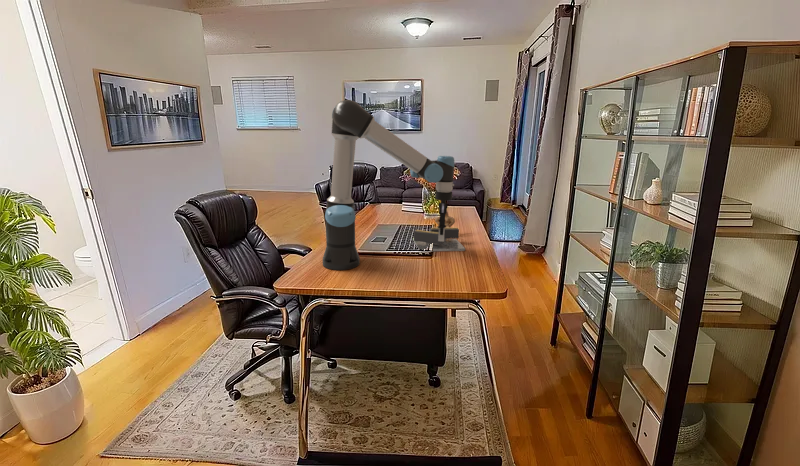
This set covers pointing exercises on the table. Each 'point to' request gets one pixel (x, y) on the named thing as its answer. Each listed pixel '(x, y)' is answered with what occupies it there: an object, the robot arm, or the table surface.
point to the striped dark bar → (427, 237)
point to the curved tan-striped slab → (448, 232)
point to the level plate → (442, 245)
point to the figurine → (446, 221)
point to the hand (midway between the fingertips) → (441, 240)
